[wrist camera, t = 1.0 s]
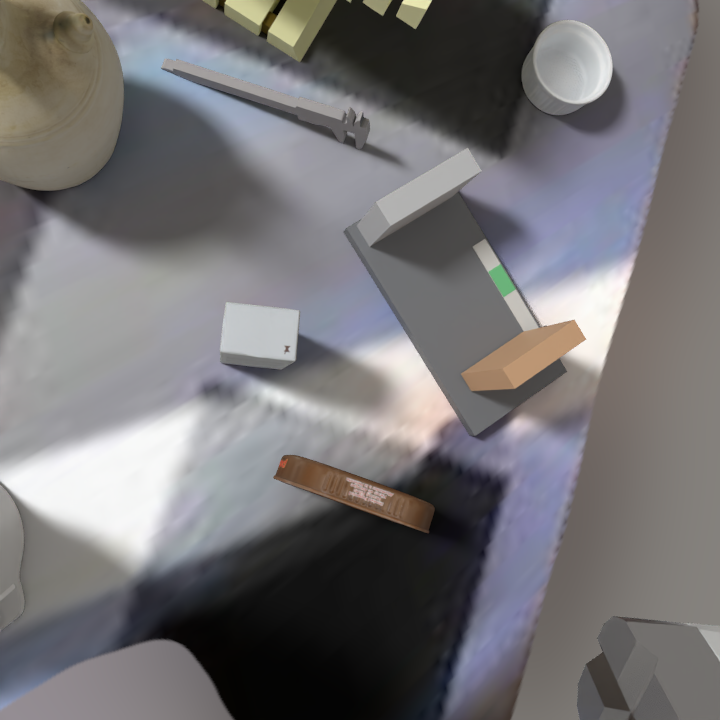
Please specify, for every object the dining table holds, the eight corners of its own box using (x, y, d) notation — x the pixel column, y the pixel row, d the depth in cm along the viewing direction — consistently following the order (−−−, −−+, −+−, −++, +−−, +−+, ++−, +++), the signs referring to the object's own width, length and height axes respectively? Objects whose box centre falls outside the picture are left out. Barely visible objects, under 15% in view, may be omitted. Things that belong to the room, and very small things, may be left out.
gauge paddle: (549, 337, 70) (604, 326, 60) (471, 391, 68) (514, 388, 58) (539, 320, 70) (593, 306, 60) (460, 373, 67) (502, 368, 58)
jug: (-64, 186, 60) (-251, 37, 36) (-20, 23, 62) (-171, -225, 37) (115, 228, 63) (54, 118, 39) (152, 72, 65) (116, -128, 40)
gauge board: (559, 372, 72) (611, 367, 62) (469, 435, 69) (509, 440, 60) (440, 174, 70) (474, 139, 61) (343, 231, 68) (364, 204, 58)
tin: (268, 476, 65) (276, 487, 56) (280, 445, 65) (290, 451, 57) (411, 528, 67) (439, 545, 59) (422, 497, 68) (451, 510, 60)
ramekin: (500, 87, 72) (518, 68, 68) (540, 24, 74) (560, 1, 70) (566, 137, 74) (587, 121, 69) (604, 74, 75) (627, 54, 71)
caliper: (363, 141, 69) (377, 116, 63) (359, 151, 69) (374, 127, 63) (164, 60, 65) (160, 25, 59) (160, 70, 65) (155, 36, 59)
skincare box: (286, 326, 66) (303, 309, 54) (282, 370, 66) (297, 363, 54) (223, 318, 65) (225, 300, 53) (217, 363, 64) (219, 354, 53)
